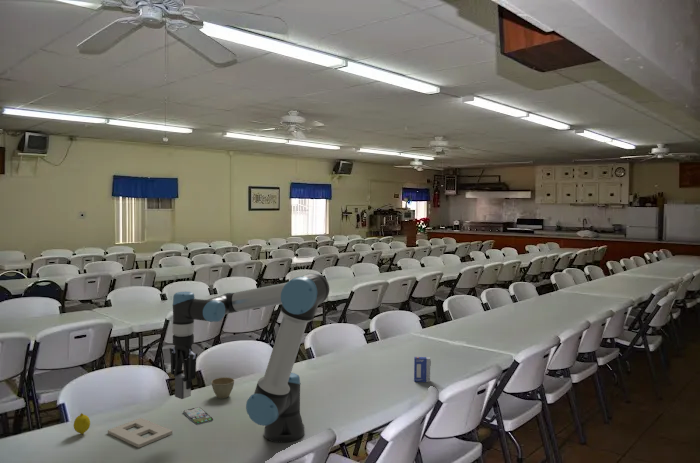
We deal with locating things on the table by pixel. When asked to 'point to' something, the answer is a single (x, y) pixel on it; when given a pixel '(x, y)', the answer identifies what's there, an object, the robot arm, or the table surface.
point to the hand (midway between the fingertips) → (182, 395)
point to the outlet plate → (139, 432)
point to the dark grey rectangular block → (179, 385)
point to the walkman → (422, 369)
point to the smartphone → (197, 415)
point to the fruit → (82, 423)
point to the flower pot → (222, 386)
